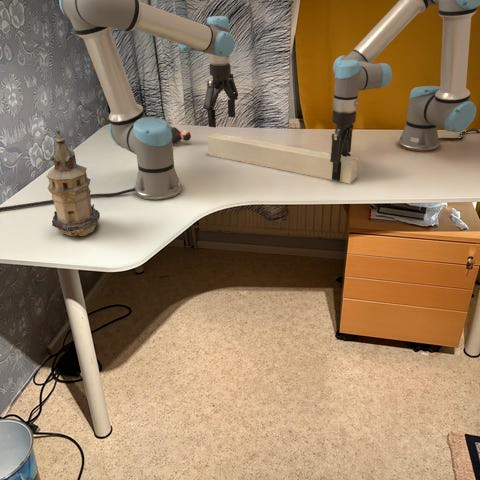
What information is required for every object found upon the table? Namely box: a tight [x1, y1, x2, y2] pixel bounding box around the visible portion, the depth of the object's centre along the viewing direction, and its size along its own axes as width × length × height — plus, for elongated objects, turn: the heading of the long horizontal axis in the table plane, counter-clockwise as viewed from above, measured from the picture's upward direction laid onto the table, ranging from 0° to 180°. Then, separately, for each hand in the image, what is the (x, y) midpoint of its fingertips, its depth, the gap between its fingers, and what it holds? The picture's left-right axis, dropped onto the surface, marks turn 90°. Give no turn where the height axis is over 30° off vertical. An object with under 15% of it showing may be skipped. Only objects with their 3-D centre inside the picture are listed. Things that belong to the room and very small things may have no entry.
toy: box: [170, 125, 192, 146], centre depth 219 cm, size 26×6×30 cm
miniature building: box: [46, 129, 101, 237], centre depth 148 cm, size 13×14×30 cm
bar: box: [207, 132, 358, 184], centre depth 195 cm, size 58×5×7 cm, turn 59°
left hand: (222, 121), depth 201 cm, fingers open, 13 cm apart
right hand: (339, 176), depth 185 cm, fingers closed on bar, 5 cm apart
